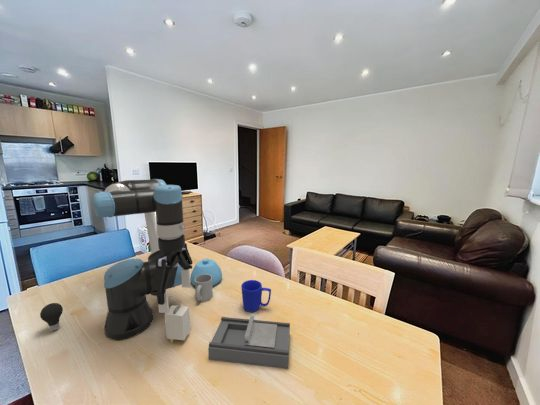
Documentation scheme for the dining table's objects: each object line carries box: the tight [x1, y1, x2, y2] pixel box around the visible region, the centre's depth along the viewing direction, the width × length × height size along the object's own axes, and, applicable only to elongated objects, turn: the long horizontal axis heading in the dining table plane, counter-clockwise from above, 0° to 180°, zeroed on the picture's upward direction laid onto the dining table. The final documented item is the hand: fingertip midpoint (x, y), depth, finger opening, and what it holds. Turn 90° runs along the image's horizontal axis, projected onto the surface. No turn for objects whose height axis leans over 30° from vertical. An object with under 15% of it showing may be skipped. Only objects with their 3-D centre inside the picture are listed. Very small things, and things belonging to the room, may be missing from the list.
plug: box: [164, 303, 191, 344], centre depth 75 cm, size 6×4×12 cm
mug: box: [240, 279, 272, 312], centre depth 91 cm, size 8×12×10 cm
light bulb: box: [39, 302, 64, 332], centre depth 78 cm, size 6×6×10 cm
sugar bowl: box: [190, 258, 223, 287], centre depth 111 cm, size 15×15×12 cm
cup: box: [194, 274, 214, 303], centre depth 97 cm, size 7×10×9 cm
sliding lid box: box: [207, 316, 291, 369], centre depth 73 cm, size 24×13×5 cm, turn 83°
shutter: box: [245, 315, 277, 349], centre depth 72 cm, size 9×10×4 cm
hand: (176, 298), depth 73 cm, fingers open, 13 cm apart
